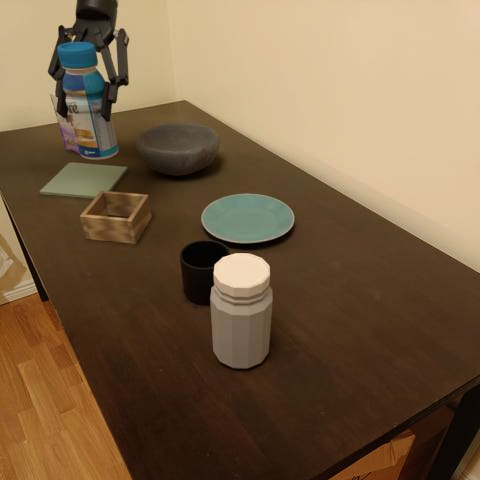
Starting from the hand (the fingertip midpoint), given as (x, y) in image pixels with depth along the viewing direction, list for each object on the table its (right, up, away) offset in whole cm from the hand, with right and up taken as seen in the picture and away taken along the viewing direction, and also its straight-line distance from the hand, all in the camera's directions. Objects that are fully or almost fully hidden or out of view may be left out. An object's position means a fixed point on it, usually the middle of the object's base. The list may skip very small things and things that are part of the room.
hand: (83, 116), depth 84 cm
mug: (+24, -33, +3) cm, 41 cm away
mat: (-12, -1, +36) cm, 38 cm away
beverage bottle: (0, -4, +9) cm, 9 cm away
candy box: (-17, +13, +50) cm, 54 cm away
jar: (+31, -45, -9) cm, 56 cm away
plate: (+33, -17, +20) cm, 42 cm away
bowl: (+13, +4, +42) cm, 44 cm away
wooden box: (+2, -18, +19) cm, 26 cm away
